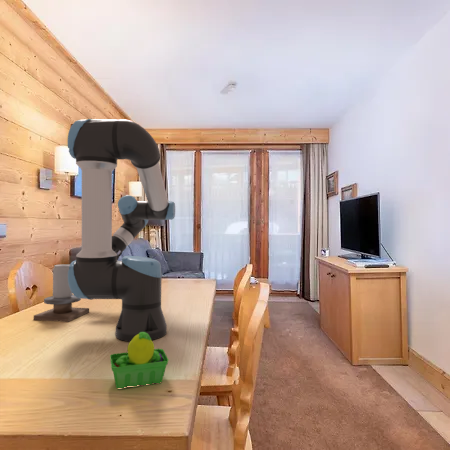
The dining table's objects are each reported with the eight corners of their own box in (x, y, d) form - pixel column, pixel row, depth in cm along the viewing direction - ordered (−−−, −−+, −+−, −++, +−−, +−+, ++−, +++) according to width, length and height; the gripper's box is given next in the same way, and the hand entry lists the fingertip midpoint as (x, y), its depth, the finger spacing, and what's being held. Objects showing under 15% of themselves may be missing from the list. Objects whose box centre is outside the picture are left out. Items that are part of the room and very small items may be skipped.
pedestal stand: (67, 321, 112) (68, 302, 112) (33, 319, 114) (33, 301, 114) (89, 312, 125) (89, 295, 125) (57, 310, 127) (58, 293, 127)
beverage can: (75, 296, 123) (76, 264, 123) (65, 300, 116) (66, 266, 116) (59, 295, 123) (59, 263, 123) (48, 299, 117) (49, 265, 117)
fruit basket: (162, 370, 75) (162, 320, 75) (170, 387, 67) (170, 332, 67) (109, 377, 71) (110, 325, 71) (111, 397, 63) (111, 338, 63)
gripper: (142, 248, 130) (105, 292, 119) (110, 245, 147) (76, 283, 136) (130, 235, 126) (91, 279, 115) (99, 234, 143) (63, 272, 132)
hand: (83, 281), depth 125 cm, fingers open, 13 cm apart
